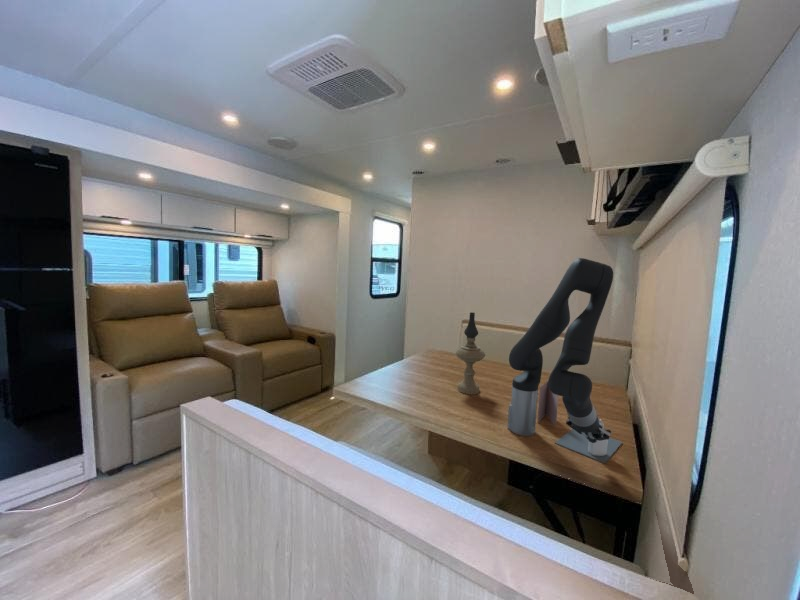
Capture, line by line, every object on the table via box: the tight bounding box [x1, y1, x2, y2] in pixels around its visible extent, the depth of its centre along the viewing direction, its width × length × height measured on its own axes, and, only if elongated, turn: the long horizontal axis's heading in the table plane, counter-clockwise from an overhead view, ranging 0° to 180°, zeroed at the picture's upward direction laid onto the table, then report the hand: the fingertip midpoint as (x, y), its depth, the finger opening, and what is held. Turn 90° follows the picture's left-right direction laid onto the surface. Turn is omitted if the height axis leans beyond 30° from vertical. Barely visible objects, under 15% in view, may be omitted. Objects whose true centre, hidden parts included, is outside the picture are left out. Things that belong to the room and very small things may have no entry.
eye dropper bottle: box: [588, 418, 608, 456], centre depth 112 cm, size 4×6×12 cm
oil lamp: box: [454, 311, 486, 395], centre depth 168 cm, size 15×15×40 cm
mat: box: [554, 428, 623, 464], centre depth 120 cm, size 16×20×1 cm
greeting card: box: [537, 380, 559, 427], centre depth 137 cm, size 11×7×15 cm, turn 141°
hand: (592, 439), depth 108 cm, fingers closed
